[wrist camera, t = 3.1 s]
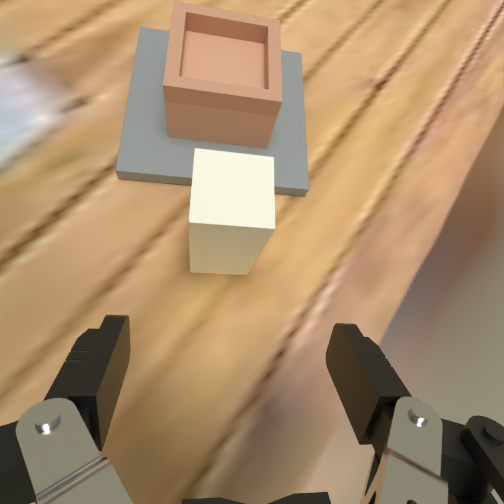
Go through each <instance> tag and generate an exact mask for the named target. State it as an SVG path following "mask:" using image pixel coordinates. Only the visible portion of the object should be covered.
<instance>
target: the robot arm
mask: <svg viewBox="0 0 504 504" xmlns="http://www.w3.org/2000/svg"><path fill="white" fill-rule="evenodd" d="M129 358H130V327H129V316H126V315H106V316H105V318H104V320H103V322H102V324H101V327H100V329H88V330H87V331H86V332H84V333H83V334H82V335H81V336H80V337H78V338H77V340H76V342H75V344H74V345H73V347H72V349H71V352H70V353H69V355H68V356H67V358H66V362H64V364H63V366H62V368H61V369H60V371H59V373H58V375H57V377H56V379H55V380H54V382H53V384H52V386H51V388H50V390H49V391H48V393H47V395H46V397H45V399H44V400H43V401H42V402H40V403H38V404H36V405H34V406H33V407H31V408H30V409H29V410H27V411H26V412H25V413H24V414H23V415H22V417H21V418H20V419H19V420H18V421H16V422H13V423H10V424H7V425H3V426H0V504H30V503H33V502H35V504H133V502H132V500H131V499H130V497H129V495H128V493H127V491H126V489H125V487H124V485H123V484H122V482H121V480H120V478H119V476H118V474H117V472H116V470H115V469H114V467H113V465H112V463H111V462H110V460H109V459H108V458H107V457H105V458H103V457H102V456H101V454H100V452H99V451H102V449H103V446H104V442H105V439H106V436H107V433H108V429H109V426H110V423H111V419H112V416H113V413H114V410H115V406H116V403H117V400H118V396H119V393H120V390H121V387H122V383H123V380H124V377H125V374H126V370H127V367H128V363H129ZM326 365H327V368H328V371H329V373H330V376H331V378H332V380H333V383H334V385H335V388H336V390H337V392H338V395H339V397H340V399H341V402H342V404H343V406H344V409H345V411H346V414H347V416H348V418H349V421H350V423H351V425H352V428H353V430H354V432H355V435H356V437H357V440H358V442H359V444H360V445H364V444H372V445H373V448H374V450H375V451H374V454H373V456H372V459H371V463H370V467H369V471H368V475H367V479H366V483H365V487H364V491H363V494H362V498H361V503H360V504H498V503H497V501H496V500H495V498H494V497H493V495H492V494H491V491H492V490H493V489H495V490H496V492H497V493H498V495H499V497H500V498H501V500H502V501H503V503H504V427H503V426H502V425H500V424H499V423H497V422H496V421H494V420H492V419H489V418H487V417H483V416H473V417H471V418H470V419H469V420H468V422H467V423H466V425H462V424H459V423H455V422H452V421H448V420H444V419H441V418H440V417H439V415H438V414H437V413H436V411H435V410H434V409H433V408H432V407H431V406H429V405H428V404H427V403H425V402H423V401H421V400H419V399H417V398H413V397H412V396H411V394H410V393H409V391H408V390H407V388H406V387H405V385H404V384H403V382H402V381H401V379H400V378H399V376H398V375H397V373H396V372H395V370H394V369H393V367H391V365H390V363H389V361H388V360H387V359H386V358H385V355H384V354H383V352H382V351H381V349H380V348H379V346H378V345H377V344H375V343H374V342H373V341H372V340H371V339H370V338H368V337H364V336H363V335H362V333H361V331H360V330H359V328H358V327H357V325H355V324H343V323H337V324H335V325H334V328H333V331H332V334H331V338H330V341H329V345H328V348H327V351H326ZM182 504H244V503H240V502H236V501H232V500H227V499H223V498H203V499H184V500H182ZM268 504H331V502H330V499H329V495H328V492H319V493H318V492H317V493H298V494H292V495H289V496H286V497H284V498H281V499H279V500H276V501H273V502H271V503H268Z"/></svg>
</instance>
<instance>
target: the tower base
mask: <svg viewBox="0 0 504 504" xmlns="http://www.w3.org/2000/svg"><path fill="white" fill-rule="evenodd" d="M195 148H198V149H207V150H216V151H224V152H233V153H242V154H251V155H260V156H268V157H274V194H285V195H295V196H305V195H306V193H307V192H308V190H309V183H308V166H307V148H306V130H305V112H304V95H303V77H302V59H301V53H295V52H289V51H283V50H281V38H280V20H277V19H272V18H266V17H261V16H256V15H250V14H245V13H239V12H234V11H228V10H223V9H217V8H212V7H206V6H201V5H195V4H190V3H184V2H179V1H174V3H173V11H172V19H171V26H170V31H164V30H158V29H152V28H146V27H140V31H139V37H138V42H137V48H136V54H135V60H134V66H133V72H132V77H131V83H130V89H129V95H128V101H127V106H126V112H125V118H124V124H123V130H122V135H121V141H120V147H119V153H118V159H117V165H116V170H115V171H116V173H117V176H118V178H119V179H127V180H138V181H148V182H159V183H169V184H180V185H190V186H192V176H193V163H194V151H195Z"/></svg>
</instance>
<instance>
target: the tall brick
mask: <svg viewBox="0 0 504 504" xmlns="http://www.w3.org/2000/svg"><path fill="white" fill-rule="evenodd" d="M274 230H275V197H274V157H268V156H260V155H251V154H242V153H233V152H224V151H216V150H207V149H198V148H195V151H194V163H193V176H192V188H191V201H190V213H189V251H190V272H195V273H214V274H232V275H247V274H248V273H249V271H250V269H251V268H252V266H253V265H254V263H255V261H256V260H257V258H258V256H259V255H260V253H261V251H262V250H263V248H264V246H265V245H266V243H267V241H268V240H269V238H270V236H271V235H272V233H273V232H274Z"/></svg>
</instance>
